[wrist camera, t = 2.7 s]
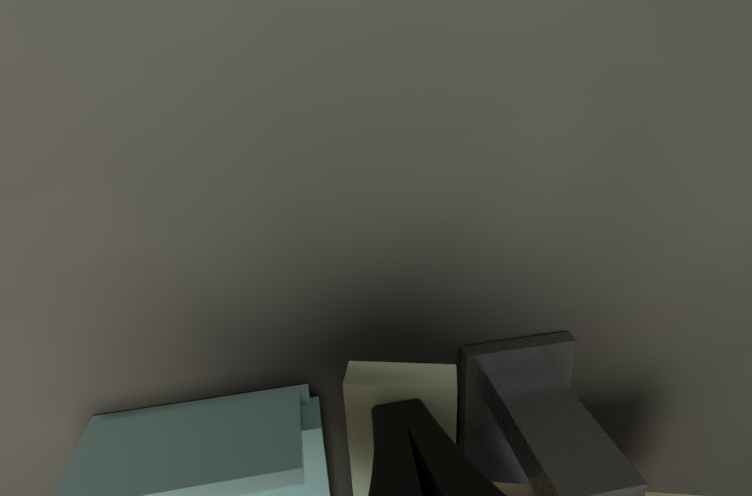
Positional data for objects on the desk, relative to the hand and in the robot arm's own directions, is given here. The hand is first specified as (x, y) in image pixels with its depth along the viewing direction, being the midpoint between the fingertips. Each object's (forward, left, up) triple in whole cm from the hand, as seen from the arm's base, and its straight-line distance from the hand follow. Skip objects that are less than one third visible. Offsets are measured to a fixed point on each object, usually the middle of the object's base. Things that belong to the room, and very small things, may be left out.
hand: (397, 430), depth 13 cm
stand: (-6, -5, -4) cm, 8 cm away
